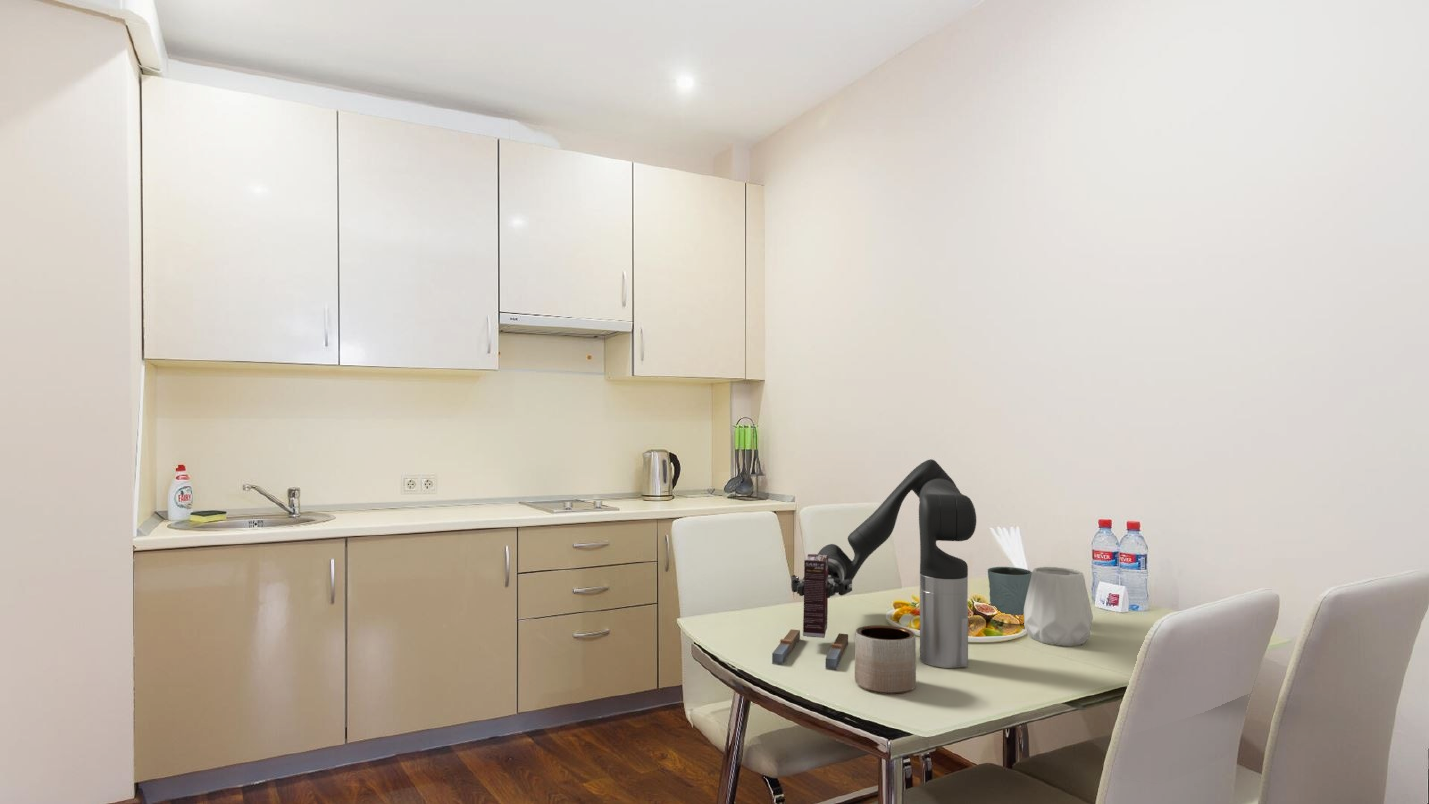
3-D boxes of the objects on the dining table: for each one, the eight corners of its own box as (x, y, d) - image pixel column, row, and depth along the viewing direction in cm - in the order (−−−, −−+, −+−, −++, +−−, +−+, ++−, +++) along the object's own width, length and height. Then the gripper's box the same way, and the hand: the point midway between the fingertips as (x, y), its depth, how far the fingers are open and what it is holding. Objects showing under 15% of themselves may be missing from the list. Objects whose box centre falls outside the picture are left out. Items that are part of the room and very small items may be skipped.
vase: (1094, 636, 179) (1094, 568, 180) (1091, 652, 167) (1091, 579, 167) (1027, 628, 186) (1027, 562, 186) (1020, 643, 173) (1020, 573, 174)
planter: (926, 685, 145) (926, 632, 145) (897, 700, 137) (897, 644, 137) (874, 671, 152) (874, 621, 153) (843, 685, 144) (843, 632, 145)
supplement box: (825, 638, 165) (826, 561, 165) (802, 637, 166) (802, 560, 166) (828, 627, 173) (828, 554, 174) (806, 626, 174) (806, 553, 175)
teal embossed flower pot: (1026, 616, 197) (1026, 567, 198) (1036, 626, 187) (1036, 575, 188) (983, 614, 199) (984, 566, 199) (992, 624, 189) (992, 573, 189)
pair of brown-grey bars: (848, 643, 172) (848, 631, 172) (835, 669, 153) (835, 656, 153) (790, 638, 175) (790, 626, 175) (772, 663, 157) (772, 650, 157)
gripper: (857, 595, 181) (848, 612, 165) (795, 591, 185) (780, 607, 169) (857, 562, 181) (848, 576, 165) (795, 558, 186) (780, 571, 169)
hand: (814, 592), depth 167 cm, fingers closed on supplement box, 5 cm apart
